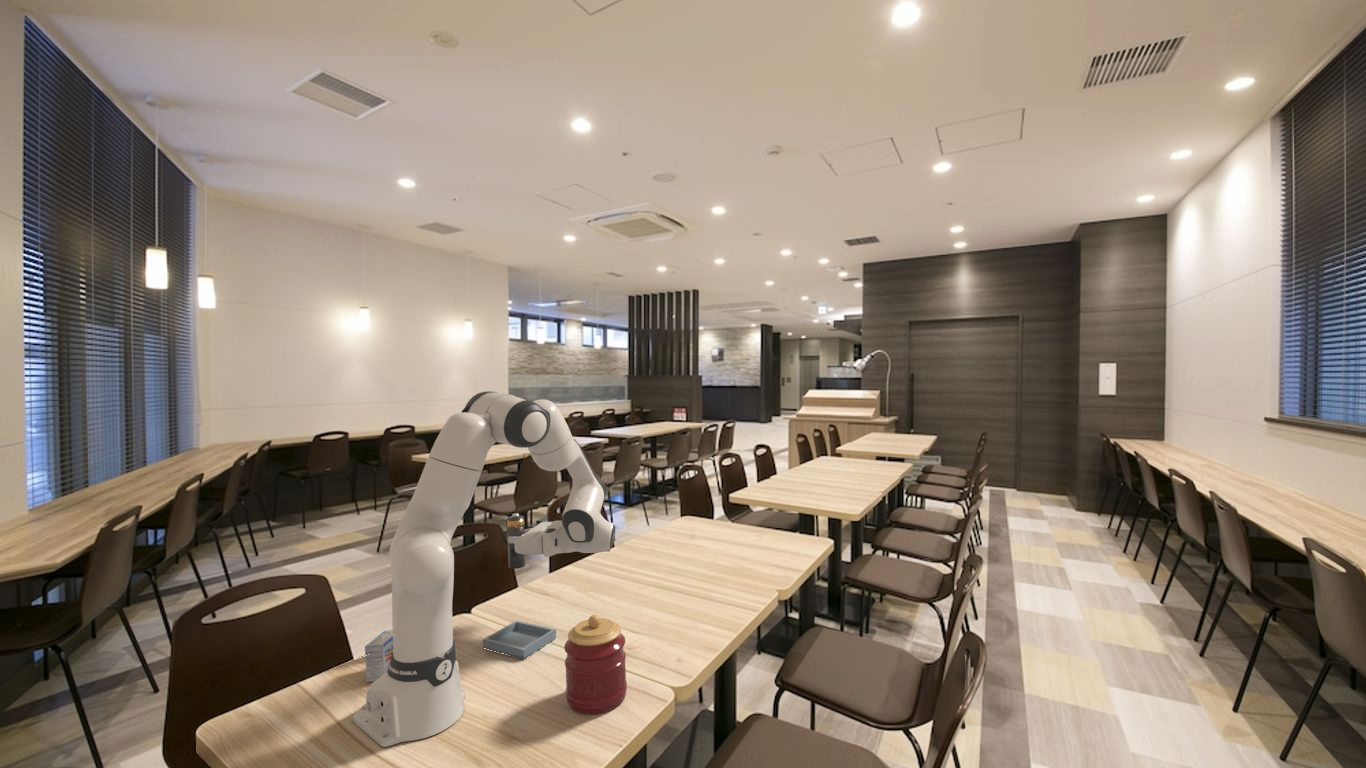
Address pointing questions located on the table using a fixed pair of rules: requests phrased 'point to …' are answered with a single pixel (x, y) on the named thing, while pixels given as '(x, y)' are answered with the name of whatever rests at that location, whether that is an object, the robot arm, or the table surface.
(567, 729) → the table surface
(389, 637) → the medicine box
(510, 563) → the battery cell
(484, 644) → the tray
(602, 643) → the canister
